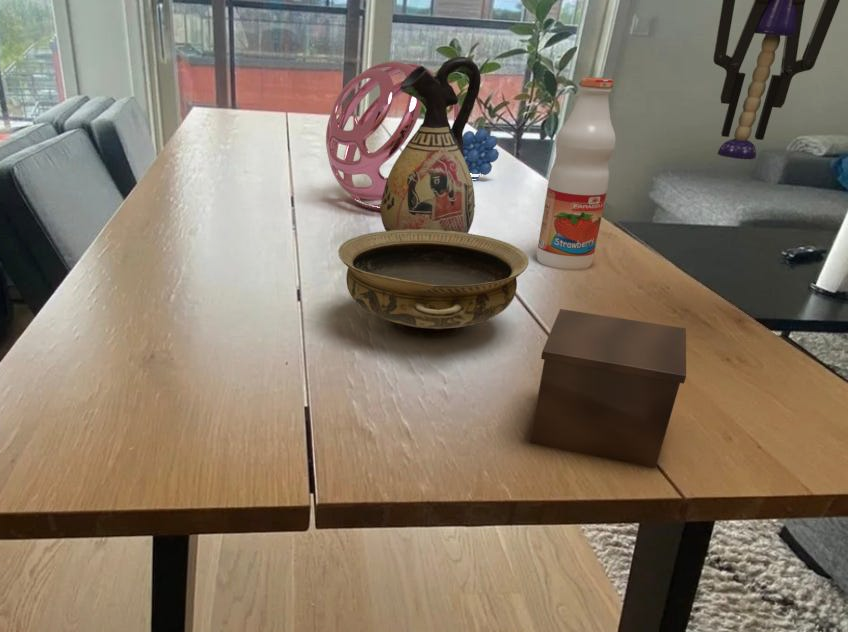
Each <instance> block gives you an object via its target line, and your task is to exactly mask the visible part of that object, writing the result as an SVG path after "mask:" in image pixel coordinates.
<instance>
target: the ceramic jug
mask: <svg viewBox="0 0 848 632" xmlns="http://www.w3.org/2000/svg"><path fill="white" fill-rule="evenodd" d="M424 67H425V66H423V65H420V66H419V67H418V68H416V69H415V70H413V71H412V72H411V73H410V74H409V75H408V76H407V78H406V77H405V78H404V80H402V81H403V82H402V81H401V82H402V84H401V87H400V90H401V91H402V92H404V93H403V94H406V95H408V96H409V95H411V96H412V97H414V98H416V99H417V100H419V101H421V102H422V105H423V107H425V111H424V112H425V113H424V117H423V121H422V123H421V124H420V125H419V128H417V130H416V131H415V133H414V134H413V135H412V137H411V138H410V140H409V141H408V142H407V143H406V145H405V147H404V148H403V150H401V152H400V153H399V155H398V157H397V158H396V160H395V162H394V163H393V166H392V167H391V169H390V171H389V174H388V177H387V178H388V179H387V182H386V185H385V188H384V192H383V196H382V200H380V204H381V207H380V211H379V212H380V218H381V223H382V225H383V228H384V231H386V232H387V231H392V230H406V229H428V230H443V231H455V232H463V233H469V231H470V230H471V227H472V225H473V222H474V218H475V217H474V216H475V208H476V200H475V198H476V197H475V189H474V188H475V187H474V181H472V178H471V175H470V172H469V170H468V167H467V164H466V162H465V159H464V152H463V135H464V130H465V127H466V125H467V123H468V122H469V119H470V116H471V113H472V110H473V108H474V106H475V103H476V100H477V98H478V96H479V94H480V88H481V78H482V77H481V72H480V69H479V66H478V65H477V63H475V62H474V60H472V59H471V58H469V57H467V56H456V57H452V58H450V59H448V60H445V61H444V62H443V63H442V65H441V66H440V67H439V69H438V71H437V72H436V74H435V75H436V76H435V77H433V76H432V75H431V74H430V73H429V72H428V71H427V70H426V69H425V68H426V67H425V68H424ZM454 73H459V74H463V75H465V76H466V77H467V78H468V82H469V83H468V87H467V90H466V94H465V96H464V98H463V101H462V104H461V106H460V111H459V113H458V115H457V118H456V119H455V121H454V120H453V123H452V125H450V122H449V118H448V114H447V108H448V107H450V106H453V105H455V104H457V103H458V102H459V98H458V96H457V94H456V92H455V90H454V88H453V86H452V84H450V83H449V81H448V77H449V76H450V75H451V74H454Z"/></svg>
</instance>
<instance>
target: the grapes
mask: <svg viewBox="0 0 848 632" xmlns="http://www.w3.org/2000/svg"><path fill="white" fill-rule="evenodd" d="M488 135H489V132H488V131H487V130H486V128H480V129H477V131H476V132H475V133H474V131H472V130H467V131H466V132H463V135H462V137H463V152H464V159H465V162H466V164H467V167H468V170H469V172H470V173H472V174H480V175H482V174H483V175H482V176H486V175H488V174H490V173H491V172H492V167H493V165H492V163H495V162H496V161H497V160H498V158H499V156H500V153H499V150H498V149H497V148H495V147H496V146H497V144H498V138H497V136H495V135H489V136H488ZM471 178H472V179H477V180H478V179H479V178H480V176H479V177H471Z"/></svg>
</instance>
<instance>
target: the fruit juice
mask: <svg viewBox="0 0 848 632" xmlns="http://www.w3.org/2000/svg"><path fill="white" fill-rule="evenodd" d="M578 85H579V88H578V90H579V96H578V97H577V100H576V102H575V104H574V107H573V109H572V111H571V113H570V115H569V116H568V118H567V120H566V121H565V122H564V124H563V125H562V126H561V127H560V129H559V130H558V132H557V136H556V138H555V139H556V140H555V153H556V157H555V162H554V164H553V165H552V167H551V170H550V172H549V178H548V182H547V189H546V195H545V201H544V207H543V212H542V219H541V225H540V231H539V238H538V243H537V250H536V261H538V262H539V263H540V264H541V265H544V266H546V267H549V268H555V269H559V270H570V271H571V270H575V271H576V270H584V269H588V268H589V267H591V265H592V263H593V260H594V256H595V251H596V246H597V241H598V236H599V232H600V226H601V221H602V216H603V212H604V211H603V210H604V207H605V202H606V197H607V193H608V188H609V180H610V171H609V170H610V169H609V163H610V160H611V158H612V156H613V153H614V151H615V149H616V143H617V142H616V141H617V136H616V133H615V129H614V127H613V124H612V119H611V118H612V117H611V111H610V99H609V97H610V93H611V92H612V89H613V87H614V79H611V78H605V77H595V76H594V77H593V76H592V77H591V76H583V77H581V78H580V80H579V84H578Z"/></svg>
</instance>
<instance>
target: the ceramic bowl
mask: <svg viewBox="0 0 848 632" xmlns="http://www.w3.org/2000/svg"><path fill="white" fill-rule="evenodd" d="M337 253H338V258H339V259H340V261H341V262H342V263H343V264H344V265H345V266H346V267H347V270H346V279H345V280H346V287H347V291H348V293H349V294H350V296H351V297H352V299H353V300H354V301H355V302H356V304H357V305H358V306H360V307H361V308H363V309H364V310H365V311H367V312H368V313H370V314H372V315H373V316H376V317H379V318H380V319H383V320H386V321H389V322H392V323H395V324H398V327H399V328H400V329H401V330H402V331H403V332H406V333H408V334H411V335H415V336H419V337H427V338H440V337H441V338H442V337H448V336H452V335H455V334H456V333H458V331H459V328H461V327H467V326H468V327H469V326H473V325H477V324H479V323H480V324H481V323H482V322H485V321H488V320H490V319H492V318H494V317H496V316H497V315H499V314H501V313H502V312H504V311H505V310H506V309H507V308H508V307H509V306H510V305H511V303H512V302H513V300H514V298H515V296H516V292H517V287H518V281H517V278H518V277H519V276H520V275H521V274H522V273H524V272H525V271H526V270H527V268H528V267H529V263H530V262H529V261H530V260H529V257H528V255H527V254H526V253H525V252H524V251H523V250H522V249H521V248H518V247H517V246H515V245H514V244H511V243H509V242H506V241H503V240H500V239H497V238H494V237H489V236H487V235H486V236H485V235H481V234H475V233H469V232H468V233H463V232H455V231H443V230H428V229H406V230H392V231H387V232H386V230H383V231H382V230H381V231H376V232H370V233H366V234H365V233H364V234H360V235H358V236H355V237H352V238H350V239H348V240H346V241H344V242H343V243H342V244H341V245H340V246H339V247H338V251H337Z"/></svg>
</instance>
